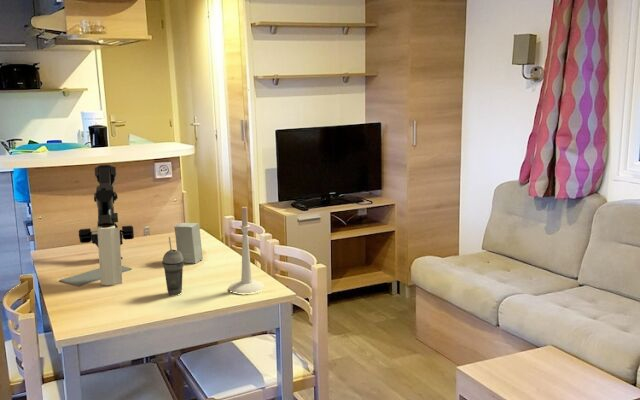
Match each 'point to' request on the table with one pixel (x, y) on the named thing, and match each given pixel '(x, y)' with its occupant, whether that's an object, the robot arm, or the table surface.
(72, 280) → the gray mat
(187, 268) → the table surface
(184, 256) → the skincare box
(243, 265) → the candlestick
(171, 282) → the beverage cup
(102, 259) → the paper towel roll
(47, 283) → the table surface
